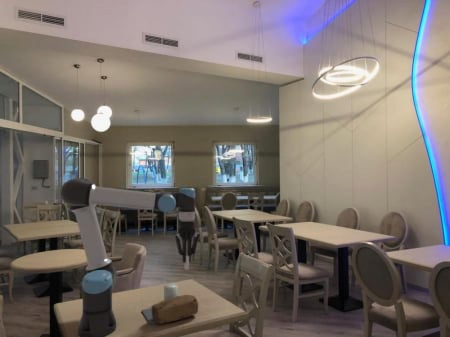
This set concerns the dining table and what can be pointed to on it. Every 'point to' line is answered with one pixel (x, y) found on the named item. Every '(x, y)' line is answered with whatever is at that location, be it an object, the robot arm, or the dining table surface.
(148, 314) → the mat
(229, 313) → the dining table surface
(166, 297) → the grey cylinder
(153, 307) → the block
